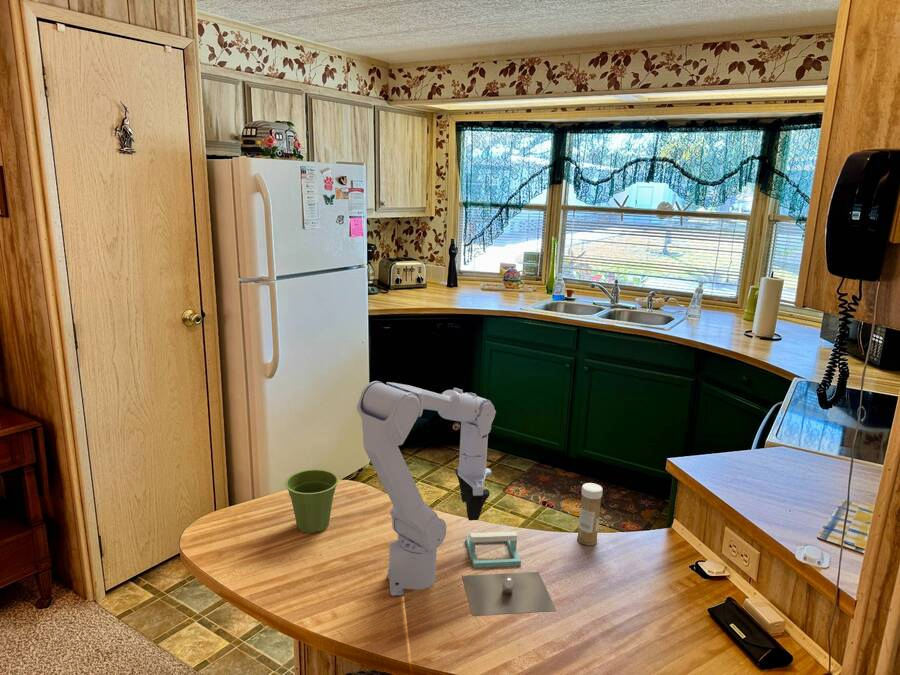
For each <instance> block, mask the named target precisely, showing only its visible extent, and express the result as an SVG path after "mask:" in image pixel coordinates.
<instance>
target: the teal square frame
mask: <svg viewBox="0 0 900 675" xmlns="http://www.w3.org/2000/svg"><path fill="white" fill-rule="evenodd" d="M517 541H518V534H517V531H515V530H514V531H496V532H495V531H494V532H493V531H492V532H491V531H490V532H470V533H469V536H465V544H466V547H467V550H468V553H469V557H470V561H471V564H472V567H473V569H478V568H495V567H496V568H498V567H499V568H500V567H501V568H502V567H518V566H520V567H521V564H522V560H521V557H520V555H519V553H518V551H517V544H518V542H517ZM483 543H484V544H485V543H505V544H507V547H508V549H509V552H510V554H511V557H512V558H501V559H500V558H499V559H496V558H495V559H478V557H477V554H476V544H483Z"/></svg>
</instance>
